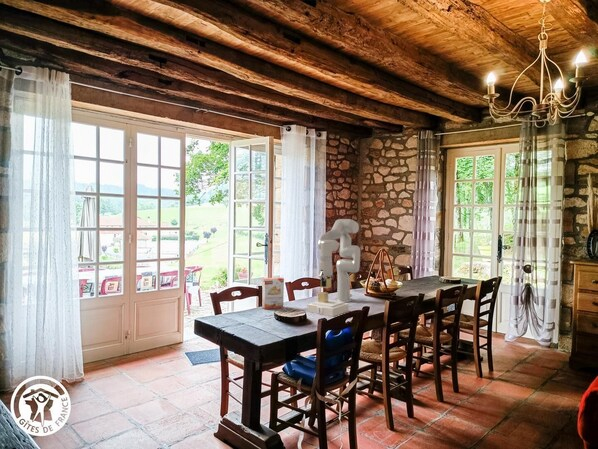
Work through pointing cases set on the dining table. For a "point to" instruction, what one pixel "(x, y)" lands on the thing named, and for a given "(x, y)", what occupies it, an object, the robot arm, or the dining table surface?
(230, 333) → the dining table surface
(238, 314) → the dining table surface
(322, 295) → the brass weight
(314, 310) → the kitchen scale
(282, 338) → the dining table surface
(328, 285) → the brass weight
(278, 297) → the cracker box
